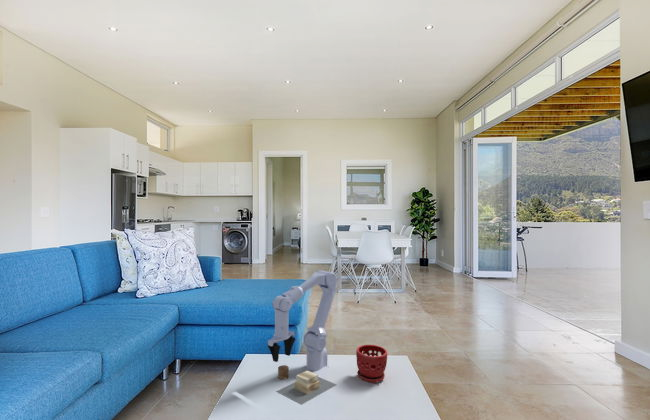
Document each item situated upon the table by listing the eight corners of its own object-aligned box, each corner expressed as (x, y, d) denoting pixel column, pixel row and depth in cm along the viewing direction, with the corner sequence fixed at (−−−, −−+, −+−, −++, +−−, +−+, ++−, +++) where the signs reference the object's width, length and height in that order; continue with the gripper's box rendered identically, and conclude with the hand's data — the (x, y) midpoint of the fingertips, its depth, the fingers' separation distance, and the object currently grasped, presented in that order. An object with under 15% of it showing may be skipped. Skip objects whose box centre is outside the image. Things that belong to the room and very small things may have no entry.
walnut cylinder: (283, 376, 146) (283, 364, 146) (290, 379, 143) (290, 367, 143) (275, 379, 142) (275, 367, 142) (282, 383, 139) (282, 370, 139)
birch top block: (307, 376, 138) (307, 370, 138) (317, 381, 134) (317, 374, 134) (296, 381, 133) (296, 375, 133) (307, 386, 129) (307, 380, 129)
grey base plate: (311, 376, 145) (311, 374, 145) (336, 387, 136) (336, 384, 136) (275, 394, 130) (275, 391, 130) (301, 407, 121) (301, 404, 121)
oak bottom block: (306, 382, 138) (307, 375, 138) (319, 387, 134) (319, 381, 134) (294, 388, 133) (294, 381, 133) (307, 394, 128) (307, 387, 128)
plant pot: (352, 382, 140) (352, 352, 141) (361, 369, 153) (361, 342, 153) (383, 388, 136) (383, 357, 136) (390, 374, 148) (390, 346, 148)
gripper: (285, 319, 150) (285, 350, 150) (262, 328, 138) (262, 361, 138) (298, 322, 146) (298, 354, 146) (275, 331, 134) (275, 366, 134)
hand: (281, 358), depth 141 cm, fingers open, 7 cm apart
